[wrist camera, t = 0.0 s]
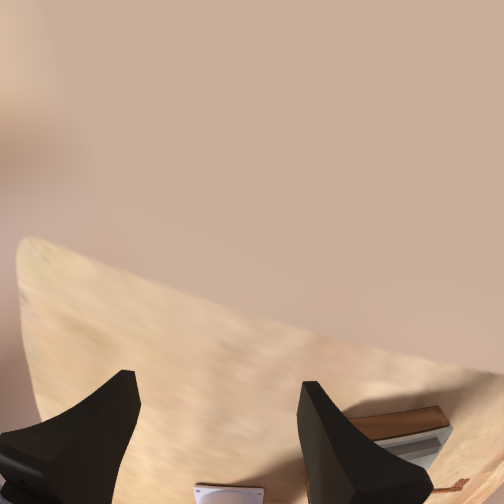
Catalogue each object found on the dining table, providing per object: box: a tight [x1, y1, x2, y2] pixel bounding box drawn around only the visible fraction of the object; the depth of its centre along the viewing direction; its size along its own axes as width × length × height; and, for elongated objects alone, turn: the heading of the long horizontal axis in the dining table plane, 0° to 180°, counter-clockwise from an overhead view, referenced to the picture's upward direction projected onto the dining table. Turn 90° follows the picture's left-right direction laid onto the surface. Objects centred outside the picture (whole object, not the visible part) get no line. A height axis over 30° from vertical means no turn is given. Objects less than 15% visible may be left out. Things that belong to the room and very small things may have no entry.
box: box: [306, 406, 450, 504], centre depth 26 cm, size 12×13×3 cm
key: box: [431, 479, 470, 494], centre depth 32 cm, size 6×1×15 cm
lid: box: [310, 426, 453, 504], centre depth 24 cm, size 12×13×2 cm
